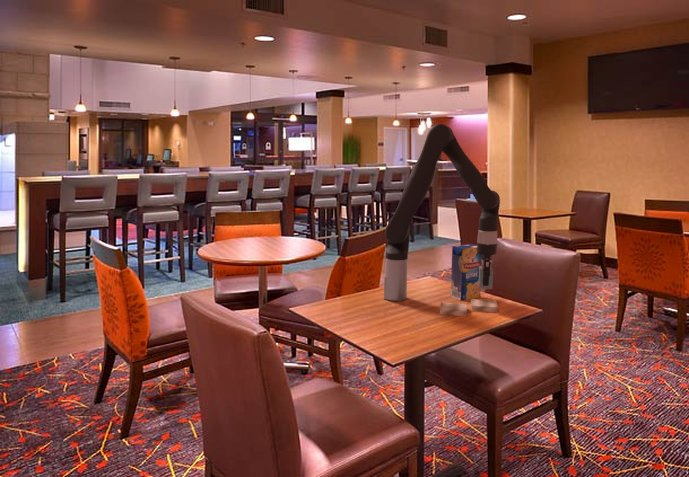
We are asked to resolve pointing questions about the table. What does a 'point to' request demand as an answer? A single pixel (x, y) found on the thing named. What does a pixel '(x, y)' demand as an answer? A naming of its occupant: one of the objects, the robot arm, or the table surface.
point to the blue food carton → (465, 272)
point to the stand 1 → (453, 309)
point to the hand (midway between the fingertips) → (485, 283)
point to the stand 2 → (484, 305)
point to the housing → (482, 278)
